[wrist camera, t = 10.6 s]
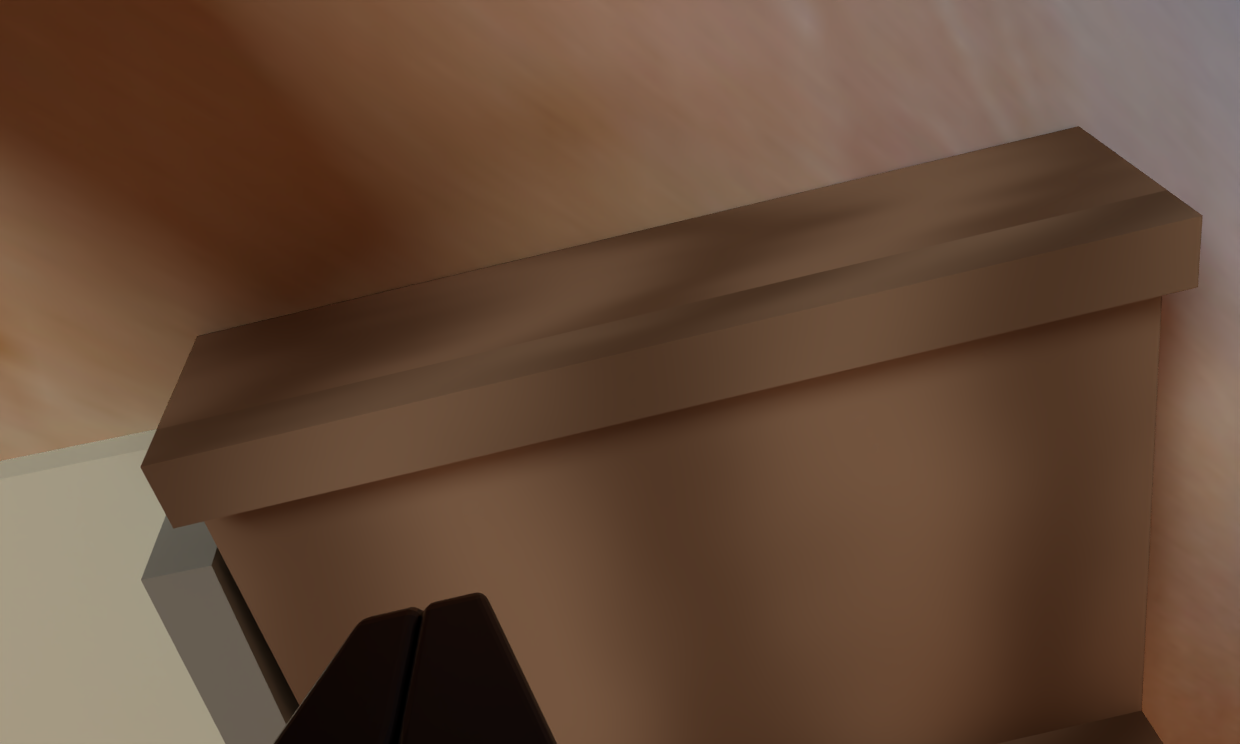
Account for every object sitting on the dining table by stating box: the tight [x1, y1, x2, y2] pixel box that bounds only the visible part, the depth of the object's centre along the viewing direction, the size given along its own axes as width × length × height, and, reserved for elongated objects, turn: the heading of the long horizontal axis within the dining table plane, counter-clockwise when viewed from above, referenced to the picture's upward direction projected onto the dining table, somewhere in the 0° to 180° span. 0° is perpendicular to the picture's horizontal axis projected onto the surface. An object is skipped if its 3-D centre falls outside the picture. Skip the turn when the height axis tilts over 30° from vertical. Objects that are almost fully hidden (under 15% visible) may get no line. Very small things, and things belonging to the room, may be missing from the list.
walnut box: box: [140, 126, 1202, 744], centre depth 22 cm, size 16×13×4 cm
